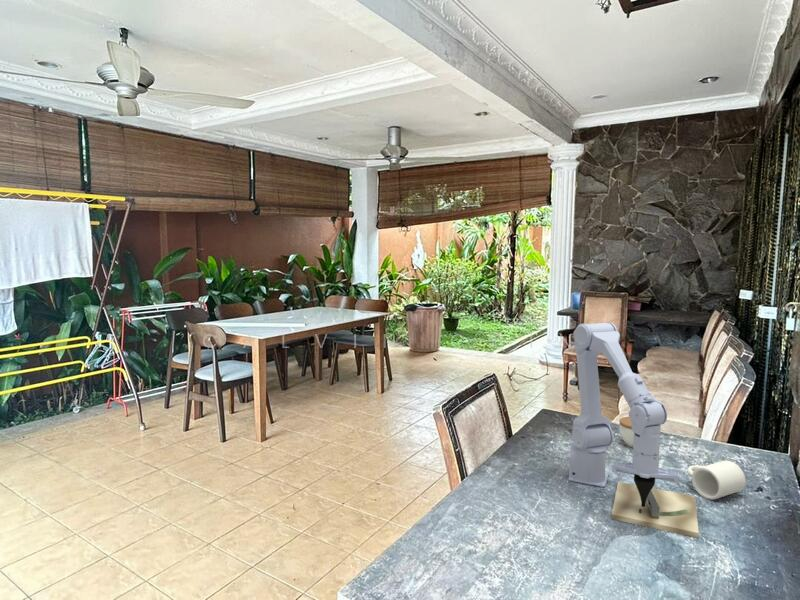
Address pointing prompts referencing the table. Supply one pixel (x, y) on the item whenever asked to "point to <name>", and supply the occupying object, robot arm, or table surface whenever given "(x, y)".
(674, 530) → the board
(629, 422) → the lidded jar
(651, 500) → the pointer
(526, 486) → the table surface
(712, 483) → the mug
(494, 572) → the table surface
